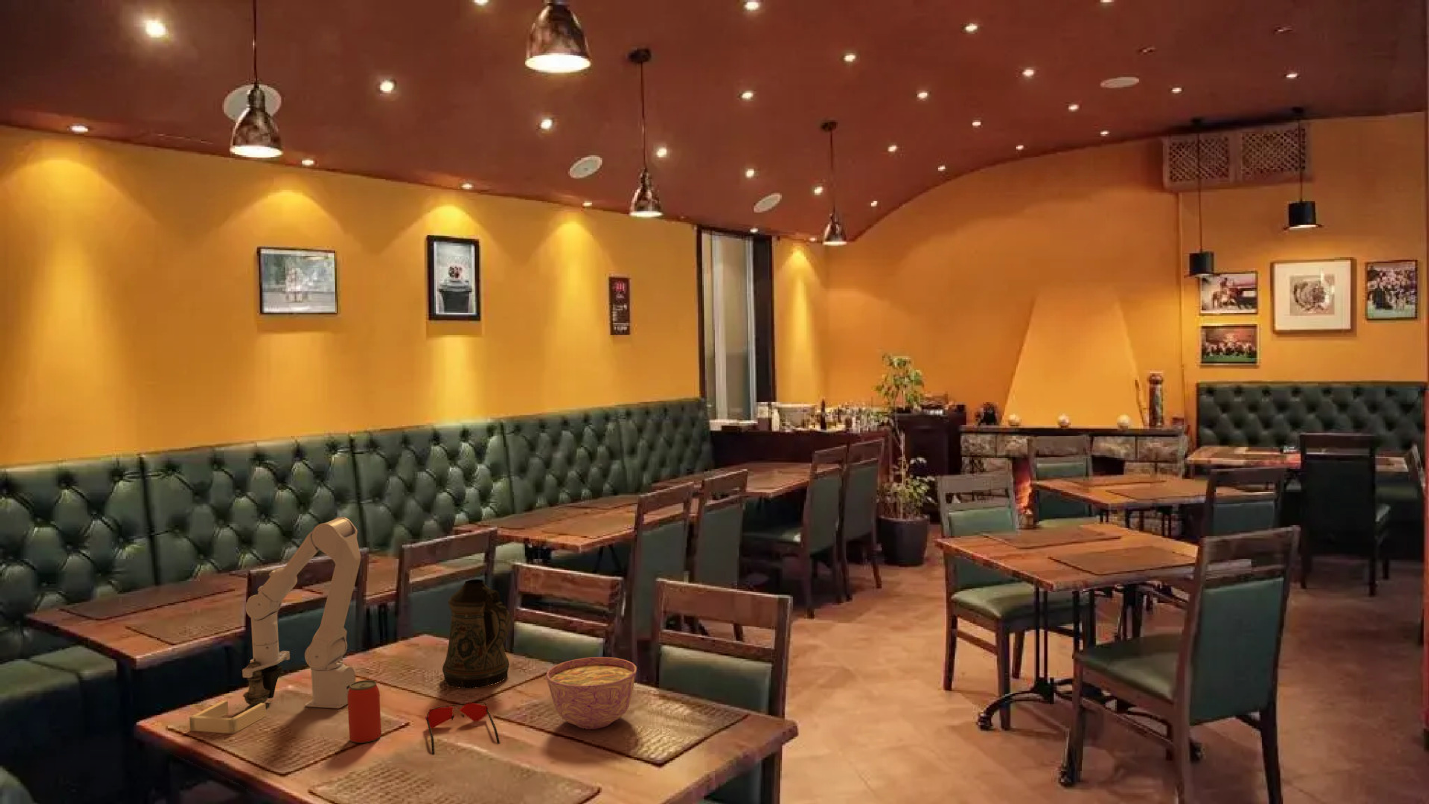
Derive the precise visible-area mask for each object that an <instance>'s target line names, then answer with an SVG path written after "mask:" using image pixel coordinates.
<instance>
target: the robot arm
mask: <svg viewBox="0 0 1429 804" xmlns="http://www.w3.org/2000/svg"><path fill="white" fill-rule="evenodd" d="M357 538H358V529H357V528H356V526H355V525H354V524H353V523H352V521H351V520H350V519H348V518H347V517H345V516H338V517H335V518H334V519H332V520H330V521H327V522H324V523H320V524H318V525H316V526H315V527H314V528H313V530H312V531H311V532H309V533H308V534H307V536H306V537H305V539H304V540H303V542H302V543H301V544H300V546H299V547H298V549H297V550H296V551H295V553H294V554H293V555H292V557H291V558H290V560H289V561H288V562H287V564H286V565H285V566H284V567H278V568H276V569H274V570H272V571H271V572H269V574H268V576H269V577H268V579H267V580H266V582H264V583H263V585H261V586H259V587H258V588H257V594H254V595H251V596H250V597H248V599H247V601H246V603H245V612H246V614H247V615H248V617H249V618H250V625H251V626H250V627H251V640H252V641H251V642H252V643H251V644H252V657H253V658H252V659H250V660H249V661H250V662H249V664H250V663H252V662H254V661H253V660H254V658H255V659H256V661H257V662H260V663H261V665H262V666H258V667H255V668H251V667H250V668H248V666H249V664H248V665H247V666H246V667H244V668H243V669H242V678H245V679H246V678H251V677H252V676H253V675H252V674H253V672H254V671H257V670H260V669H262V675H263V676H264V677H263V686H264V689H268V690H270V693H269V696H268V699H273V698H274V696H275V691H276V687H277V683H278V679H279V677H280V675H281V673H282V671H283V666H282V665H278V664H280V663H281V662H283V661H288V660H290V659H291V656H290V655H291V654H290V651H288V650H282V651H280V647H279V645H280V643H279V629H278V628H279V627H278V613H279V610H281V608H282V602H283V601H284V599H285V598H286V597H287V595H288V594H289V593H290V592H291V590H293V588H294V587H295V586H296V584H297V583H298V574H299V573H300V572H301V571H302V569H303V568H305V566H306V565H307V564H308V563H309V562H310V560H312V558H313V557H314V556H315V555H316V554H317V553H318V552H319V551H321V552H322V553H324V554H325V555H326V556H327V557H329V558H330V559H331V560H332V562H334V564H335V566H334V569H333V572H332V578H331V581H330V585H329V590H328V594H327V597H326V602H325V606H324V609H323V614H322V617H321V621H320V626H319V628H318V629H317V630H316V632H315V634H314V635H313V637H312V641H311V643H310V644H309V645H308V647H307V648H306V649H305V651H304V660H305V662H306V664H307V665H308V666H309V667H310V673H311V691H312V692H311V694H312V699H311V700H309V701H308V702H307V703H305V704H304V707H311V708H324V709H325V708H326V709H327V708H329V709H340V708H342V707H344V706H346V705H348V699H347V696H348V691H349V686H350V685H351V684H352V683H354V682H357V680H356V672H355V669H354V668H353V667H352V666H348V665H345V663H344V659H343V658H344V657H343V656H344V655H345V654H346V652H347V649H348V643H347V634H348V631H347V630H346V629H345V623H346V619H347V615H348V612H349V607H350V604H351V599H352V595H353V592H354V588H355V585H356V581H357V576H358V573H359V568H360V564H361V558H362V556H361V551H360V548H359V543H358V539H357Z"/></svg>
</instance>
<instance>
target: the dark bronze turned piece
mask: <svg viewBox="0 0 1429 804" xmlns="http://www.w3.org/2000/svg"><path fill="white" fill-rule="evenodd" d="M253 661H254V662H252V663H250V662H249V664H248V665H249V666H248V665H247V666H248V668H250V667H251V668H255V667H258V666H262V665H261V663H260V662H257V661H256V659H255V658H254V660H253ZM252 675H253V676H252V677H251V678H247V679H246V680H248V690H247V691H246V692H244V693H243V694H242V697H244V701H245V703H246V704H248V706H246V707H245V709H244V710H245V711H247V710H249V709H250V708H252V707H254V706H256V705H258V704H260V703H265V704H266V710H267V709H268V708H270V703H269V704H268V703H266V702H267V700H268V699H269V698H268V696H269V693H270V690H268V689H264V686H263V677H264V676H263V675H262V669H260V670H257V671H254V672H253V674H252ZM245 711H244V712H245Z"/></svg>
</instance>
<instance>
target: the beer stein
mask: <svg viewBox="0 0 1429 804" xmlns="http://www.w3.org/2000/svg"><path fill="white" fill-rule="evenodd" d="M500 598H501V597H500V594H499V592H498V591H497V590H494V589H492V588H490V587H488V586H487V585H486V584H485V581H484V580H483V579H473V578H472V579H468V580H465V582H464V584H463V585H462V586H461V587H460V589H459V590H457V591H456V592H455V593H453V595H451V596H450V598H449V599H448V601H447V602H448V607H449V609H450V610H451V618H450V627H449V638H448V646H447V652H446V657H445V660H444V663H443V665H442V668H441V669H442V674H443V676H444V683H445V682H446V683H447V684H446V683H445V684H446V685H448V686H449V687H451V686H453V688H456V687H460V688H459V689H476V688H475V687H479V688H485V687H488V685H489V686H492V685H491V684H493V685H496V684H495V683H497V682H499V683H501V682H503V681H504V680H506V679H507V678H508V671H509V667H510V661H509V658H508V656H507V653H506V651H505V647H504V644H505V641H506V640H507V638H508V635H509V633H510V630H511V622H512V620H511V615H510V612H509V610H508V609H507V607H506V604H504V603H503V602H502V601H500ZM503 679H504V680H503ZM502 680H503V681H502ZM500 681H501V682H500ZM497 684H498V683H497Z"/></svg>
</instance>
